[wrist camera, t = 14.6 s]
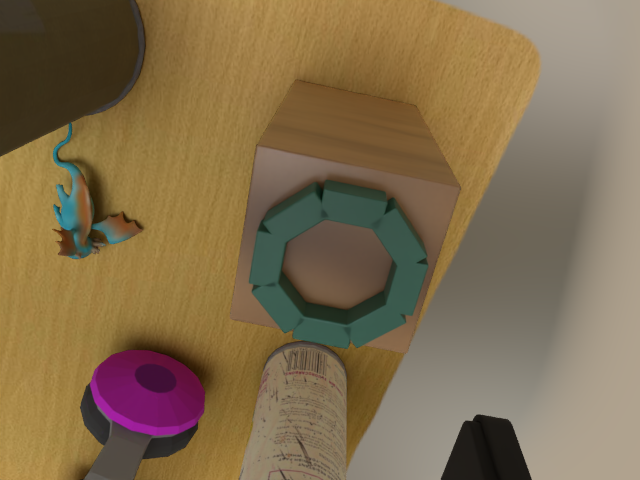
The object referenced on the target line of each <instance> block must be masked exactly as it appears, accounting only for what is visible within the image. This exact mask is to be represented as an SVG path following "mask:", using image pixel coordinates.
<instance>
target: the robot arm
mask: <svg viewBox="0 0 640 480" xmlns="http://www.w3.org/2000/svg"><path fill="white" fill-rule="evenodd" d="M441 480H532V479H531V476H530V473H529V471H528V468H527V465H526V462H525V459H524V457H523V454H522V451H521V449H520V446H519V443H518V440H517V437H516V434H515V431H514V429H513V426H512V424H511V422H510V421H509V420H508V419H502V418H496V417H491V416H485V415H476V416H475V417H474V419H473V421H465V422H464V423H463V425H462V427H461V430H460V432H459V435H458V437H457V440H456V442H455V445H454V447H453V450H452V452H451V455H450V457H449V460H448V462H447V465H446V468H445V470H444V472H443V475H442V477H441Z"/></svg>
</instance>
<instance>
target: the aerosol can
mask: <svg viewBox="0 0 640 480" xmlns="http://www.w3.org/2000/svg"><path fill="white" fill-rule="evenodd" d="M346 379H347V374H346V370H345V367H344V364H343V362H342V361H341V359H340V358H339V357H338V355H337V354H336V353H334V352H333V351H331V350H330V349H329V348H327V347H325V346H322V345H320V344H317V343H314V342H302V341H300V342H294V343H289V344H286V345H284V346H282V347H280V348H278V349H276V350H275V351H274V352H273V353H272V354H271V355H270V356H269V357H268V360H267V362H266V364H265V366H264V370H263V374H262V379H261V383H260V388H259V392H258V397H257V401H256V405H255V410H254V414H253V419H252V423H251V428H250V432H249V437H248V441H247V446H246V450H245V455H244V459H243V464H242V468H241V473H240V477H239V480H346V407H347V380H346Z"/></svg>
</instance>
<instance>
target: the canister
mask: <svg viewBox="0 0 640 480" xmlns="http://www.w3.org/2000/svg"><path fill="white" fill-rule="evenodd" d="M144 50H145V38H144V28H143V24H142V21H141V17H140V13H139V10H138V6H137V4H136V2H135V0H0V156H2V155H4V154H7V153H9V152H11V151H13V150H15V149H17V148H19V147H21V146H23V145H25V144H27V143H29V142H31V141H33V140H36V139H38V138H40V137H42V136H44V135H46V134H48V133H50V132H52V131H54V130H56V129H58V128H60V127H62V126H65V125H67V124H69V123H71V122H73V121H75V120H77V119H79V118H81V117H83V116H86V115H92V114H96V113H99V112H102V111H105V110H107V109H109V108H111V107H112V106H114V105H116V104H117V103H118V102H119V101H121V100H122V99H123V98H124V97H125V95H126V94H127V93H128V92H129V91H130V90H131V88H132V86H133V85H134V83H135V81H136V80H137V78H138V76H139V74H140V71H141V66H142V61H143V56H144Z"/></svg>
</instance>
